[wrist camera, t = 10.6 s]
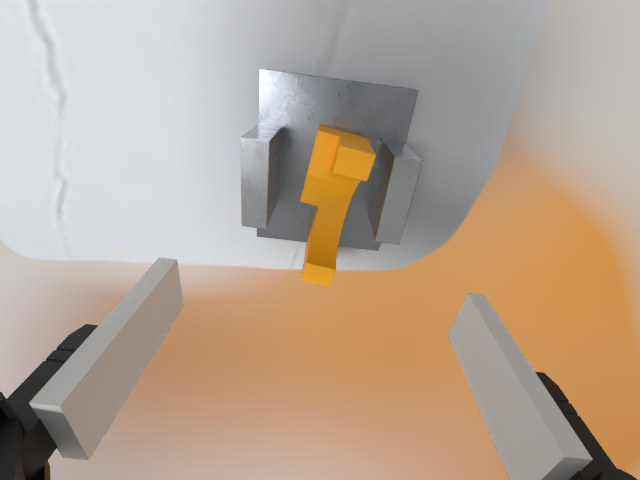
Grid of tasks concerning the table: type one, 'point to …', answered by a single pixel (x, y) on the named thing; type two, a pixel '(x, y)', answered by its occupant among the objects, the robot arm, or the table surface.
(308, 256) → the orange angled block
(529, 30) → the table surface
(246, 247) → the table surface
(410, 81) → the table surface
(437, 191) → the table surface
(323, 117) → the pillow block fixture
